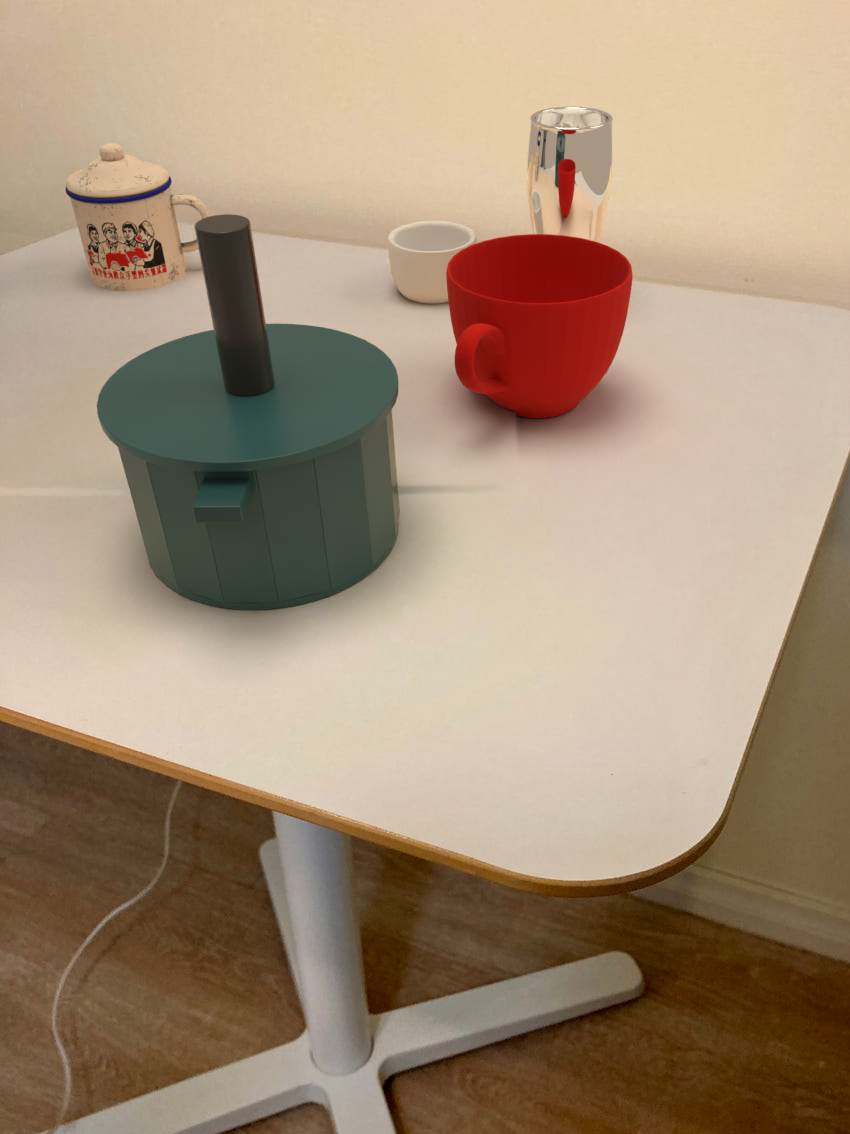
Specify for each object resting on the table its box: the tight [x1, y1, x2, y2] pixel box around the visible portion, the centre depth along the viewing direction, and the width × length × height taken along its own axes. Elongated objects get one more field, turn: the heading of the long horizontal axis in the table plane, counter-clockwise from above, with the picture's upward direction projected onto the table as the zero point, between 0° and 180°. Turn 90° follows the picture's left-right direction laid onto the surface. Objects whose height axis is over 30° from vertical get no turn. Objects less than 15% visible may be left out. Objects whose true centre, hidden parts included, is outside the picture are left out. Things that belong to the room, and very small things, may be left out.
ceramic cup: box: [446, 233, 633, 419], centre depth 74 cm, size 13×17×10 cm
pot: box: [117, 409, 400, 611], centre depth 62 cm, size 16×21×10 cm
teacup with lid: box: [65, 142, 211, 292], centre depth 94 cm, size 12×9×12 cm
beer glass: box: [526, 106, 614, 243], centre depth 87 cm, size 7×7×15 cm
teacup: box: [387, 220, 478, 305], centre depth 92 cm, size 10×8×5 cm
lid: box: [96, 213, 400, 472], centre depth 56 cm, size 17×17×10 cm
